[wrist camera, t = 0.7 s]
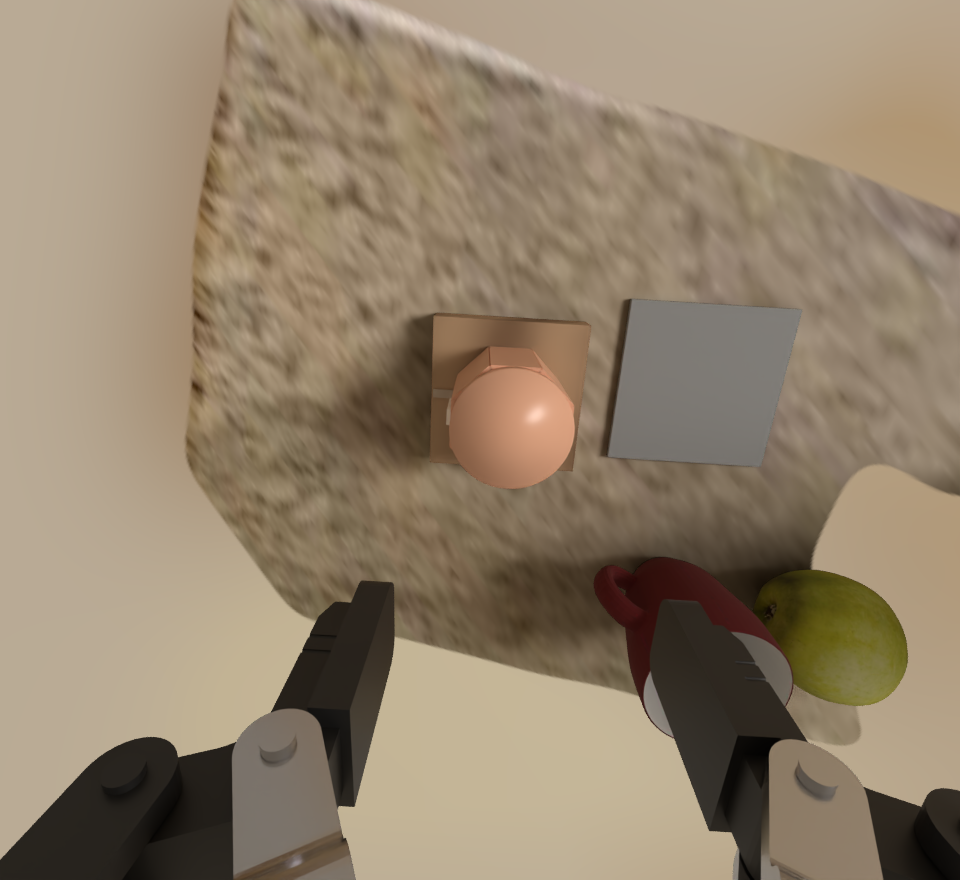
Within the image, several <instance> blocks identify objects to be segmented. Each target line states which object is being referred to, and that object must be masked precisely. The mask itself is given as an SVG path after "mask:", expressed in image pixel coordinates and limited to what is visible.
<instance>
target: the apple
mask: <svg viewBox="0 0 960 880" xmlns="http://www.w3.org/2000/svg"><path fill="white" fill-rule="evenodd" d="M753 613H754V614H755V615H756V616H757V617H758V619H759V620H760V621H761V622H762V623H763V625H764V626H765V627H766V628H767V630H768V631H769V632H770V634H771V635H772V636H773V638H774V639H775V641H776V642H777V643H778V645H779V646H780V648H781V649H782V651H783V652H784V654H785V655H786V657H787V658H788V660H789V663H790V665H791V668H792V671H793V680H794V684H795V685H796V686H798V687H799V688H801V689H802V690H804V691H806V692H808V693H809V694H811V695H814V696H816V697H818V698H820V699H823V700H826V701H829V702H834V703H838V704H845V705H852V706H863V705H871V704H874V703H877V702H879V701H881V700H883V699H885V698H886V697H888V696H889V695H890V694H891V693H892V692H893V691H894V690H895V689H896V687H897V686H898V685H899V683H900V681H901V680H902V678H903V676H904V673H905V671H906V667H907V663H908V653H907V643H906V637H905V634H904V631H903V629H902V626H901V624H900V622H899V620H898V618H897V617H896V615H895V613H894V612H893V610H892V609H891V608H890V606H889V605H888V604H887V603H886V601H885V600H884V599H883V598H882V597H880V596H879V595H878V594H877V593H876V592H874V591H873V590H871V589H870V588H868V587H866V586H865V585H863V584H861V583H859V582H856V581H854V580H852V579H849V578H847V577H844V576H840V575H838V574H834V573H830V572H826V571H820V570H797V571H792V572H787V573H784V574H781V575H779V576H777V577H775V578H773V579H771V580H770V581H768V582H767V583H766V584H765V585H764V586H763V587H762V588H761V590H760V592H759V595H758V597H757V599H756V602H755V606H754V609H753Z"/></svg>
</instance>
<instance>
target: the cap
mask: <svg viewBox="0 0 960 880" xmlns="http://www.w3.org/2000/svg"><path fill="white" fill-rule="evenodd" d="M573 415H574V404H573V403H572V401H571V400H570V398H569V396H568V395H567V393H566V391H565V390H564V388H563V387H562V385H561V383H560V382H559V380H558V379H557V378H556V377H555V375H554V374H553V373H552V372H551V371H550V370H549V368H548V367H547V366H546V365H545V364H544V362H543V361H542V360H541V359H540V358H539V357H538V355H537V354H536V353H535V352H534V351H533V350H531V349H528V348H511V347H495V346H490V348H489V347H487V348H486V349H485V350H484V351H483V352H482V353H481V354H479V355H478V356H477V357H476V358H475V359H474V360H473V361H472V362H470V363H469V364H468V365H467V366H466V367H465V368H464V369H463V370H461V371H460V372H459V373H458V375H457V378H456V382H455V386H454V390H453V394H452V398H450V399H449V403H448V407H447V417H446V425H449V437H450V441H449V446H450V448H451V449H452V450H453V452H454V454H455V456H456V458H457V460H458V461H459V463H460V464H461V466H462V467H463V468H464V469H465V470H466V471H467V472H468V473H469V474H470V475H471V476H473V477H474V478H476V479H477V480H479V481H481V482H483V483H485V484H488V485H490V486H494V487H498V488H505V489H517V488H524V487H528V486H531V485H534V484H537V483H539V482H541V481H543V480H545V479H546V478H548V477H549V476H551V475H552V474H553V473H554V472H555V471H556V470H557V469H558V468H559V467H560V466H561V465H562V464H563V462H564V461H565V459H566V458H567V456H568V454H569V452H570V450H571V447H572V444H573V439H574V432H575V425H574V417H573Z"/></svg>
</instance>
